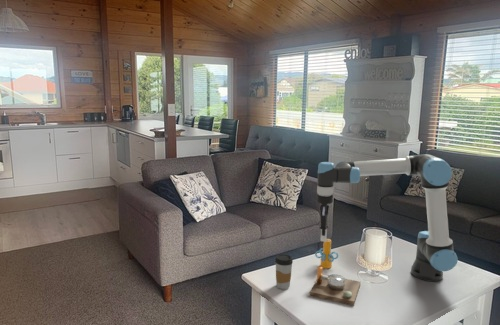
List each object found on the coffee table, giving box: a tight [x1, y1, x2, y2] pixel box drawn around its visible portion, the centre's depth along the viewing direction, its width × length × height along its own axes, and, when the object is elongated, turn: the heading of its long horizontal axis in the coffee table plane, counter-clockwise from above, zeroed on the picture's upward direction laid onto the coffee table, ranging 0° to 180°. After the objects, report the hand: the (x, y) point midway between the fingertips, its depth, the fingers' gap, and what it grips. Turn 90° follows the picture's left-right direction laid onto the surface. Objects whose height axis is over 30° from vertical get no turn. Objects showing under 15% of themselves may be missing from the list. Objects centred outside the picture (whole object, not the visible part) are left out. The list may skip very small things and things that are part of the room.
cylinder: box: [314, 238, 339, 269], centre depth 208 cm, size 12×10×15 cm
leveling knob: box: [316, 265, 346, 290], centre depth 184 cm, size 13×8×8 cm, turn 67°
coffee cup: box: [274, 253, 293, 290], centre depth 186 cm, size 8×8×15 cm
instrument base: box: [309, 273, 361, 306], centre depth 184 cm, size 20×20×4 cm
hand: (323, 240), depth 190 cm, fingers closed
